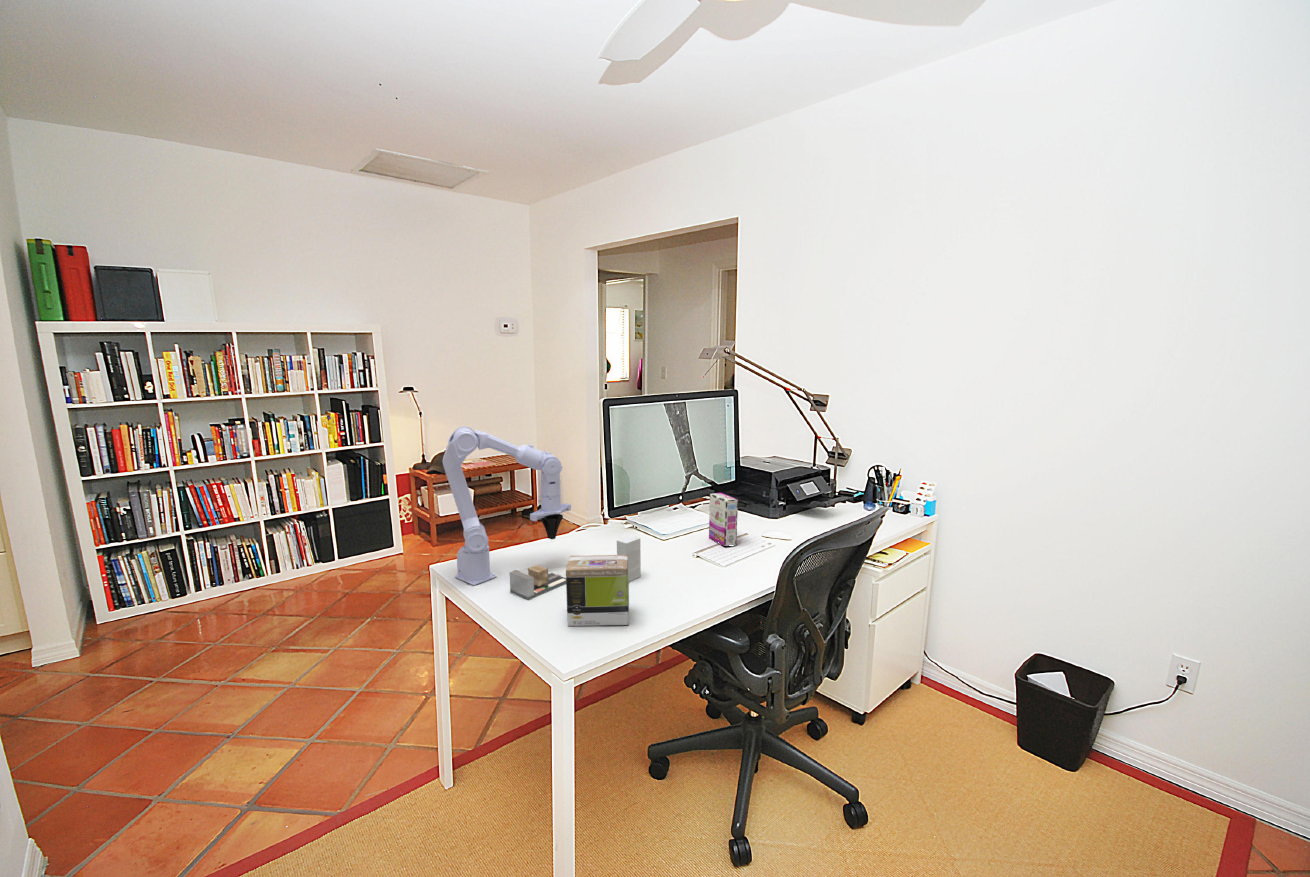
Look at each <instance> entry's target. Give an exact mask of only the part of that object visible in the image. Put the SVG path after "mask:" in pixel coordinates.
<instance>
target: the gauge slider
mask: <svg viewBox="0 0 1310 877" xmlns="http://www.w3.org/2000/svg"><path fill="white" fill-rule="evenodd" d="M548 574H549V568H546V567H544V566H541V565H537V564H536V565H534V566H531V567H528V568H527V575H529V576H532V577H534V584H535V585H537V586H541V585H542V586H544V587H546V588H547V587H548V585H546V583H548Z"/></svg>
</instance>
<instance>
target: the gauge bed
mask: <svg viewBox="0 0 1310 877" xmlns="http://www.w3.org/2000/svg"><path fill="white" fill-rule="evenodd" d="M546 585H548V587H547V588H546V587H544V586H542V585H541V586H537V585H535V584H534V577H532V576H529V575H528V573H524V572H522V571H519V570H516V569H515V570H512V571H510V572H509V592H510V593H511V594H513V593H514V594H513V595H515V594H516V596H519V597H520V598H522V599H525V600H527V601H529V600H532V599H533V598H537V597H538V596H541V595H543V594H546V593H548V592H550V591H552V590H556V589H557V588H560V587H561V586H564V585H566V577H564V576H561V574H559V573H558V574H556V573H553V572H550V573H548V583H546Z"/></svg>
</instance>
